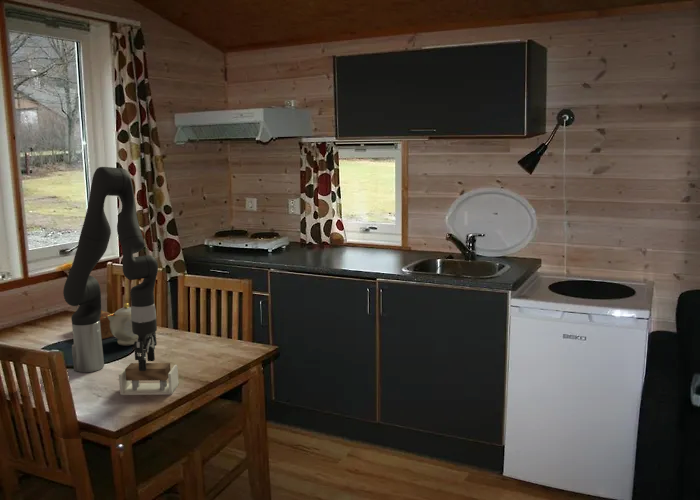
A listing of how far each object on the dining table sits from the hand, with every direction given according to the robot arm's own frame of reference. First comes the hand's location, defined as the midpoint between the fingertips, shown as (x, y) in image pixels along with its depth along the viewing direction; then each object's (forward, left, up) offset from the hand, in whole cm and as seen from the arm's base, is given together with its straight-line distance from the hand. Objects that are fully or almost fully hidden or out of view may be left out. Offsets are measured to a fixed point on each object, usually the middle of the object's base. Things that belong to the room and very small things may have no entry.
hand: (147, 365), depth 207 cm
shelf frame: (0, 0, -8) cm, 8 cm away
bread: (-40, +59, -9) cm, 72 cm away
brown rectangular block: (0, 0, -4) cm, 4 cm away
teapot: (-21, +48, -9) cm, 53 cm away
